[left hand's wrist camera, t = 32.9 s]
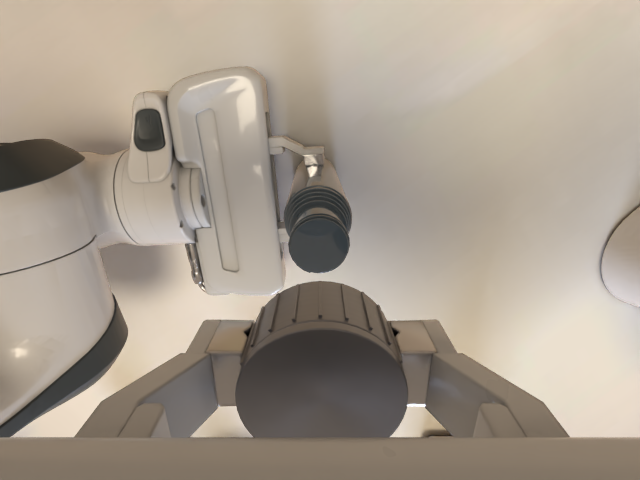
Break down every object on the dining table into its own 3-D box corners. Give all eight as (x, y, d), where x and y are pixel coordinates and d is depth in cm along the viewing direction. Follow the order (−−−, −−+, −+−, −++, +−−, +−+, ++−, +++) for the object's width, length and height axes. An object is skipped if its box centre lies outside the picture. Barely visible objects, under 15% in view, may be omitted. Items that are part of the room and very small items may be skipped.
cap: (377, 402, 11) (390, 472, 9) (246, 389, 11) (228, 457, 9) (405, 288, 10) (430, 338, 8) (255, 270, 10) (236, 316, 7)
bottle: (305, 148, 35) (298, 190, 16) (343, 166, 36) (377, 227, 17) (288, 186, 37) (263, 265, 18) (325, 203, 37) (338, 297, 19)
